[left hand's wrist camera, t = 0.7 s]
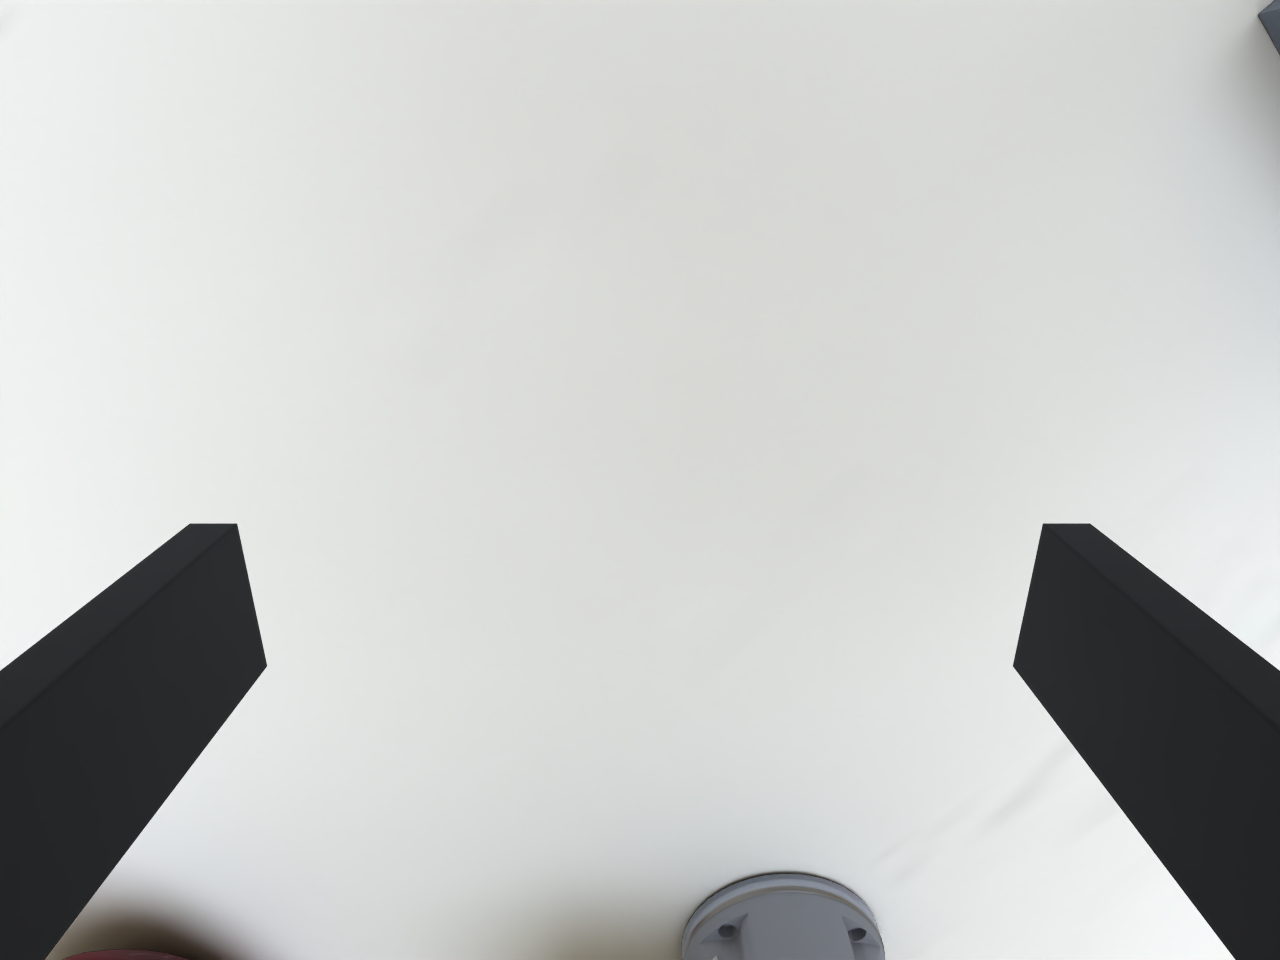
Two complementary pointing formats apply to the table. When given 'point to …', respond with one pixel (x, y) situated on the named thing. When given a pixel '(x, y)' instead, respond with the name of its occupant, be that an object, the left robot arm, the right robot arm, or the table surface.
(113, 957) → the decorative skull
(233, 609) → the left robot arm
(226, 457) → the table surface
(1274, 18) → the bar
